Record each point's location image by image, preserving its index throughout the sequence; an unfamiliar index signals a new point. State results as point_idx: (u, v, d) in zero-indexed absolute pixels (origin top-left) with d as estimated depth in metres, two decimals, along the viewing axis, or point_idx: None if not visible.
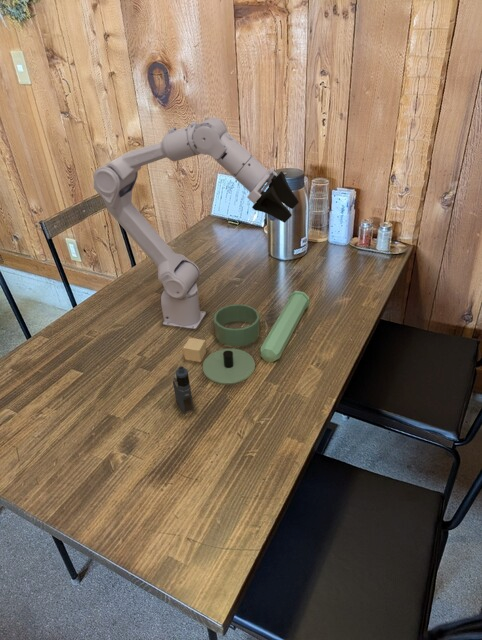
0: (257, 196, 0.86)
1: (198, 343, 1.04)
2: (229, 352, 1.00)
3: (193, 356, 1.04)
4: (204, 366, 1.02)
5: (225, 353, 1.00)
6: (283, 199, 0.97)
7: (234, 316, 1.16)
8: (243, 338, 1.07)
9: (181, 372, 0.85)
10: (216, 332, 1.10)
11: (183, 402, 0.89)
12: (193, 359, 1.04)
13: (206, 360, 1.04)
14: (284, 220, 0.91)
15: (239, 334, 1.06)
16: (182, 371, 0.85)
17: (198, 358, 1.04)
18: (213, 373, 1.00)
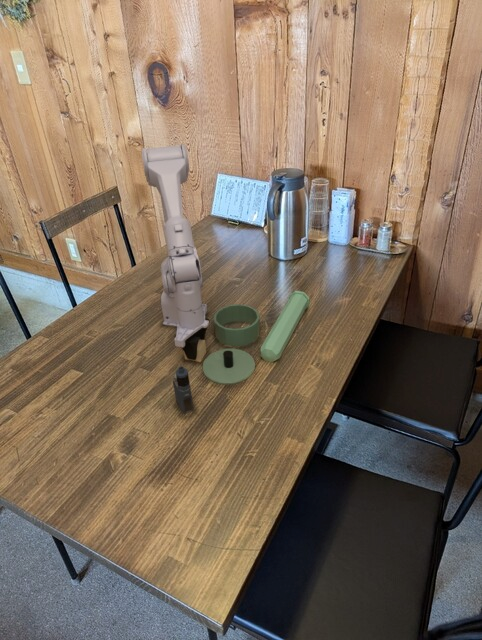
0: (181, 345, 0.95)
1: (198, 343, 1.04)
2: (229, 352, 1.00)
3: None
4: (204, 366, 1.02)
5: (225, 353, 1.00)
6: None
7: (234, 316, 1.16)
8: (243, 338, 1.07)
9: (181, 372, 0.85)
10: (216, 332, 1.10)
11: (183, 402, 0.89)
12: None
13: (206, 360, 1.04)
14: (188, 357, 1.04)
15: (239, 334, 1.06)
16: (182, 371, 0.85)
17: (198, 358, 1.04)
18: (213, 373, 1.00)
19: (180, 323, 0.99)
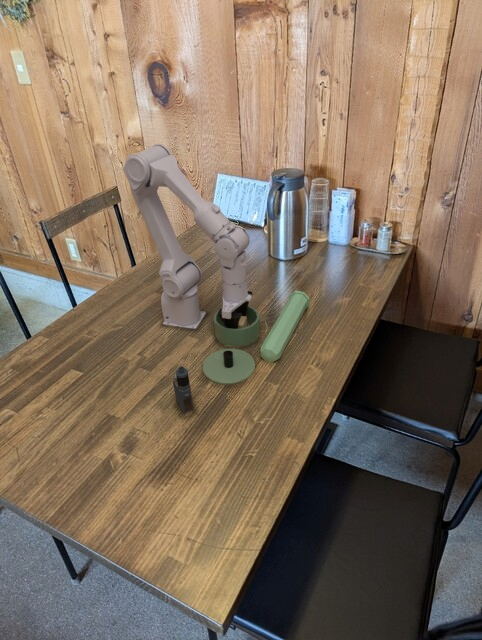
0: (228, 317, 1.02)
1: (240, 319, 1.11)
2: (229, 352, 1.00)
3: None
4: (204, 366, 1.02)
5: (225, 353, 1.00)
6: (237, 309, 1.13)
7: None
8: (243, 338, 1.07)
9: (181, 372, 0.85)
10: (216, 332, 1.10)
11: (183, 402, 0.89)
12: None
13: (206, 360, 1.04)
14: None
15: (239, 334, 1.06)
16: (182, 371, 0.85)
17: None
18: (213, 373, 1.00)
19: (225, 297, 1.05)
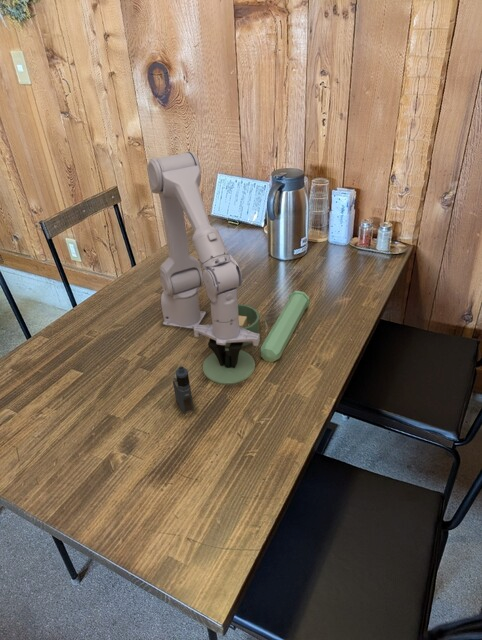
0: None
1: (240, 319, 1.11)
2: (229, 352, 1.00)
3: None
4: (204, 366, 1.02)
5: (225, 353, 1.00)
6: None
7: None
8: None
9: (181, 372, 0.85)
10: None
11: (183, 402, 0.89)
12: None
13: (206, 360, 1.04)
14: None
15: None
16: (182, 371, 0.85)
17: None
18: (213, 373, 1.00)
19: None
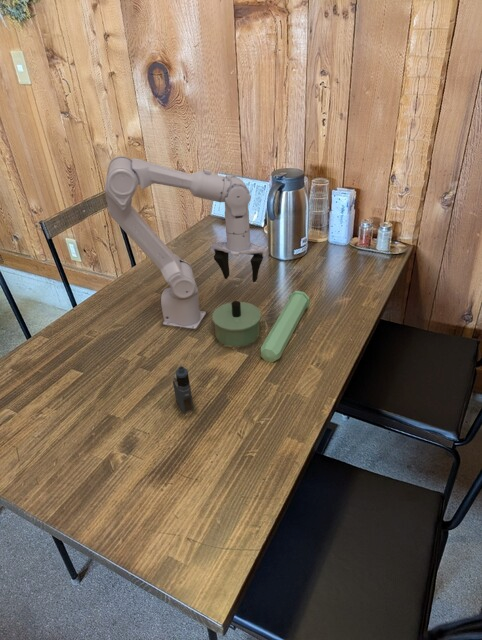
0: None
1: None
2: (237, 302, 1.08)
3: None
4: (213, 316, 1.10)
5: (233, 303, 1.08)
6: None
7: None
8: (243, 338, 1.07)
9: (181, 372, 0.85)
10: (216, 332, 1.10)
11: (183, 402, 0.89)
12: None
13: (215, 311, 1.11)
14: None
15: (239, 334, 1.06)
16: (182, 371, 0.85)
17: None
18: (222, 321, 1.08)
19: None
